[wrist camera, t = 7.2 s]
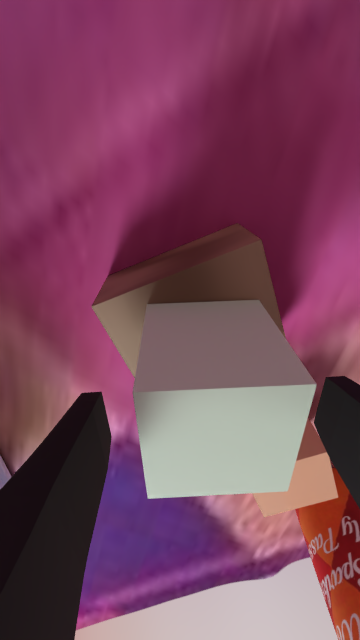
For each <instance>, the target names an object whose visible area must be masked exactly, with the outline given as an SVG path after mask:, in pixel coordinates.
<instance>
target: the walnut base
mask: <svg viewBox="0 0 360 640" xmlns="http://www.w3.org/2000/svg"><path fill="white" fill-rule="evenodd" d="M240 300H259V301H260V302H261V304H262V305H263V307H264V308H265V309H266V311H267V312H268V314H269V315H270V317H271V318H272V320H273V321H274V323H275V324H276V325H277V327H278V328H279V330H280V331H281V333H282V334H283V336H284V337H285V334H284V329H283V325H282V321H281V317H280V313H279V309H278V305H277V301H276V297H275V293H274V289H273V285H272V281H271V276H270V272H269V268H268V264H267V260H266V256H265V252H264V248H263V244H262V240H261V239H260V238H259V237H257V236H256V235H254V234H253V233H251V232H250V231H248V230H247V229H245V228H244V227H242V226H241V225H240V224H238V223H236V224H234V225H231V226H229V227H226V228H224V229H222V230H219V231H217V232H214V233H212V234H209V235H207V236H204V237H202V238H199V239H197V240H195V241H192V242H190V243H187V244H185V245H182V246H180V247H177V248H175V249H172V250H170V251H168V252H165V253H163V254H160V255H158V256H155V257H153V258H150V259H148V260H145V261H143V262H141V263H138V264H136V265H133V266H131V267H128V268H126V269H123V270H121V271H118V272H116V273H114V274H111V275H109V276H108V277H107V278H106V280H105V282H104V284H103V286H102V288H101V290H100V291H99V293H98V295H97V297H96V299H95V301H94V303H93V305H92V306H91V307H92V309H93V310H94V312H95V314H96V315H97V317H98V318H99V320H100V322H101V323H102V325H103V327H104V328H105V330H106V332H107V333H108V335H109V337H110V338H111V340H112V341H113V343H114V345H115V346H116V348H117V350H118V351H119V353H120V355H121V356H122V358H123V359H124V361H125V363H126V364H127V366H128V368H129V369H130V371H131V373H132V374H133V376H134V378H135V375H136V369H137V363H138V356H139V350H140V344H141V338H142V332H143V326H144V319H145V313H146V307H147V304H163V303H189V302H214V301H240ZM285 339H286V338H285Z"/></svg>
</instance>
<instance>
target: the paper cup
mask: <svg viewBox="0 0 360 640" xmlns="http://www.w3.org/2000/svg"><path fill="white" fill-rule="evenodd" d="M332 472H333V476H334V480H335V485H336V489H337V494H338V498H335V499H331V500H327V501H324V502H320V503H316V504H312V505H309V506H305V507H301V508H297V509H295V510H296V513H297V516H298V520H299V523H300V526H301V529H302V532H303V535H304V538H305V541H306V544H307V547H308V550H309V553H310V556H311V559H312V562H313V565H314V568H315V571H316V574H317V577H318V580H319V583H320V586H321V589H322V592H323V595H324V598H325V601H326V604H327V607H328V610H329V613H330V616H331V619H332V622H333V625H334V628H335V631H336V634H337V637H338V640H360V509H359V507H358V505H357V504H356V502H355V500H354V499H353V497H352V495H351V494H350V492H349V490H348V488H347V487H346V485H345V483H344V482H343V480H342V478H341V477H340V475H339V473H338V471H337V470H336V468H332Z"/></svg>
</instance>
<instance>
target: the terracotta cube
mask: <svg viewBox="0 0 360 640" xmlns="http://www.w3.org/2000/svg"><path fill="white" fill-rule="evenodd" d="M252 494H253V496H254V498H255V500H256V502H257V504H258V506H259V508H260V510H261V512H262V514H263V516H264V517H267V516H271V515H275V514H279V513H282V512H286V511H290V510H294V509H297V508H301V507H305V506H309V505H312V504H316V503H320V502H324V501H327V500H331V499H335V498H338V494H337V489H336V485H335V480H334V476H333V472H332V467H331V463H330V458H329V456H328V454H327V452H326V450H325V447H324V445H323V443H322V441H321V439H320V437H319V436H318V434H317V432H316V430H315V429H314V427H313V425H312V424H311V422H310V420H309V418H307V422H306V426H305V429H304V433H303V437H302V440H301V444H300V448H299V451H298V455H297V459H296V463H295V466H294V470H293V474H292V477H291V481H290V485H289V488H288V491H285V492H265V493H252Z"/></svg>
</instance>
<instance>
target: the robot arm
mask: <svg viewBox="0 0 360 640" xmlns="http://www.w3.org/2000/svg"><path fill="white" fill-rule="evenodd" d="M314 424H315V426H316V429H317V431H318V434H319V436H320V439H321V441H322V443H323V445H324V447H325V450H326V452H327V454H328V456H329V457H330V459H331V461H332V463H333V464H334V466H335V468H336V470H337V471H338V473H339V475H340V477H341V478H342V480H343V482H344V483H345V485H346V487H347V488H348V490H349V492H350V494H351V495H352V497H353V499H354V500H355V502H356V504H357V505H358V507H359V509H360V385H359V384H357V383H356V382H354V381H352V380H350V379H349V378H347V377H345V376H339V377H326V379H325V383H324V386H323V390H322V394H321V398H320V401H319V405H318V409H317V413H316V416H315V420H314ZM110 445H111V432H110V428H109V423H108V419H107V414H106V410H105V405H104V401H103V396H102V392H90V393H82V394H81V395H80V396H79V397H78V398H77V399H76V401H75V402H74V403H73V405H72V406H71V407H70V408H69V410H68V411H67V412H66V413H65V415H64V416H63V417H62V419H61V420H60V421H59V422H58V423H57V425H56V426H55V427H54V428H53V430H52V431H51V432H50V433H49V435H48V436H47V437H46V438H45V439H44V441H43V442H42V443H41V444H40V445H39V447H38V448H37V449H36V450H35V451H34V452H33V454H32V455H31V456H30V457H29V458H28V459H27V461H26V462H25V463H24V464H23V465H22V466H21V467H20V468H19V469H18V470H17V472H16V473H15V474H14V475H13V476H12V477H11V475H10V473H9V471H8V469H7V467H6V465H5V463H4V461H3V459H2V457H1V456H0V640H74V637H75V631H76V624H77V617H78V610H79V604H80V597H81V591H82V584H83V577H84V572H85V567H86V562H87V556H88V552H89V547H90V543H91V539H92V534H93V530H94V526H95V522H96V517H97V513H98V509H99V504H100V500H101V496H102V491H103V487H104V483H105V478H106V474H107V469H108V462H109V454H110Z"/></svg>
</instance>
